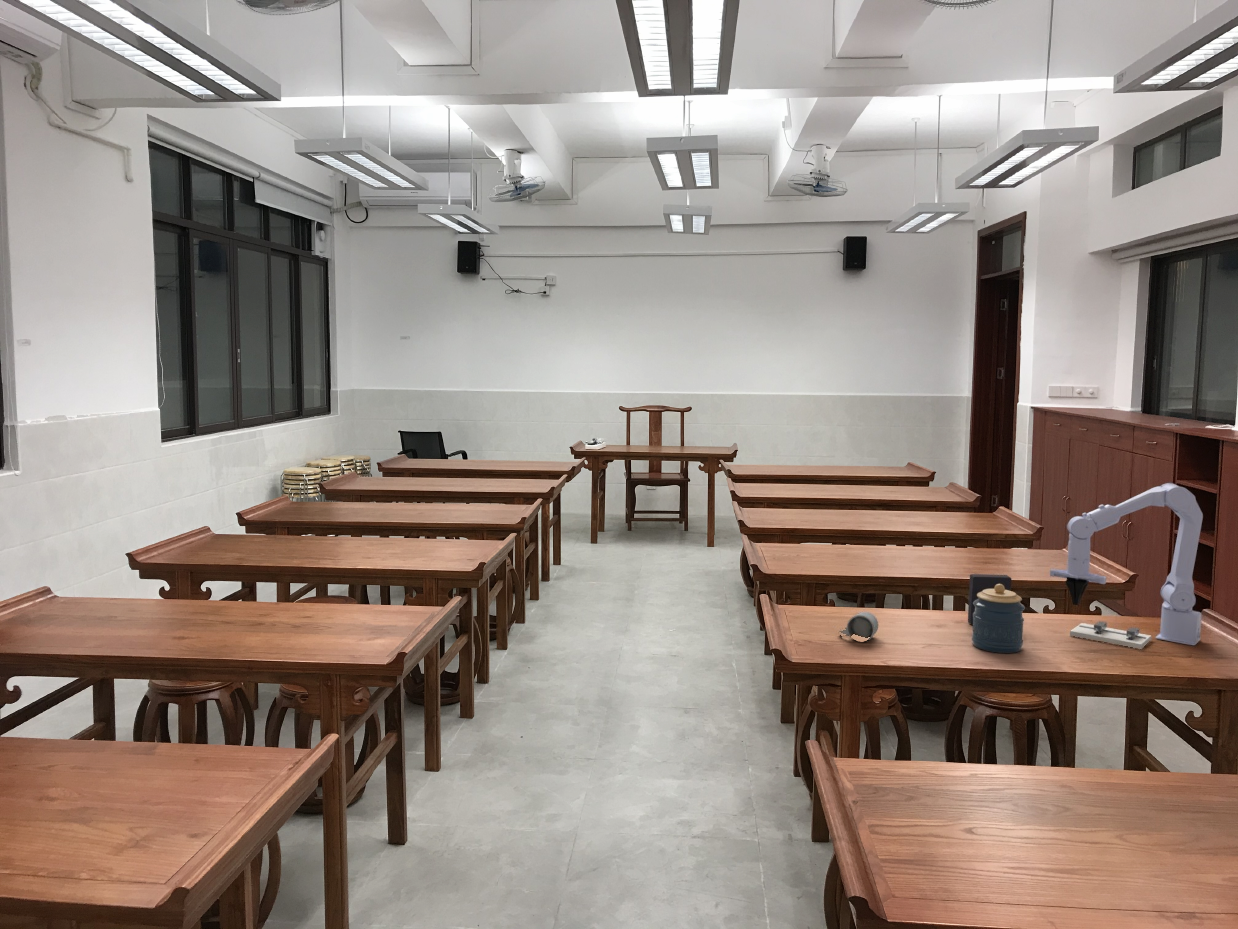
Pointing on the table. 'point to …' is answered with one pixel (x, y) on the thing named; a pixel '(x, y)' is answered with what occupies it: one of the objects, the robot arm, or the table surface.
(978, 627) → the canister
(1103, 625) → the block
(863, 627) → the ceramic mug
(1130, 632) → the fixed point
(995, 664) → the table surface
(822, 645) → the table surface
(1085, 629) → the board
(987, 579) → the calculator
